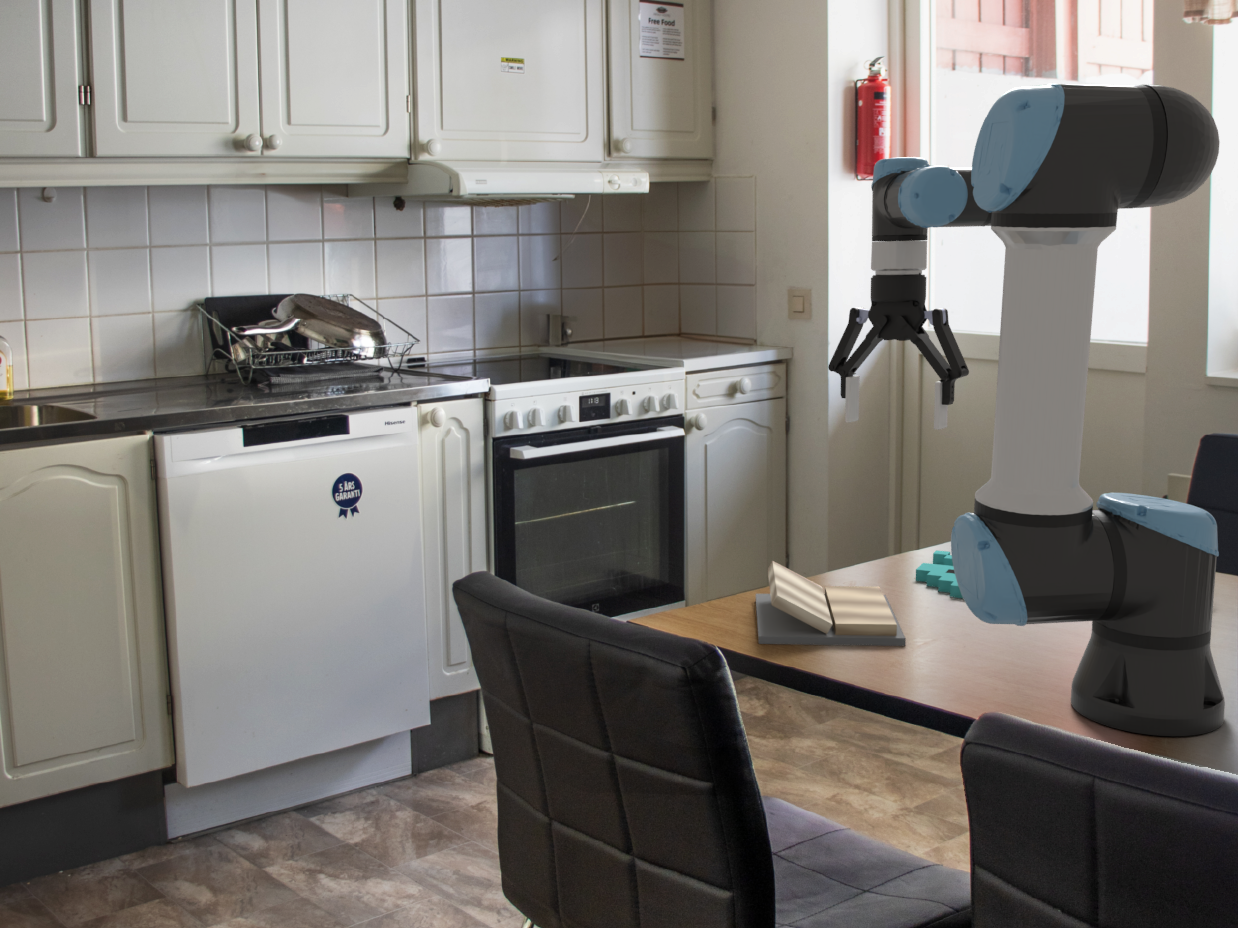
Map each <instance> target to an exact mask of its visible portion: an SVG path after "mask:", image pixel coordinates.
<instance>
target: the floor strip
mask: <svg viewBox="0 0 1238 928" xmlns="http://www.w3.org/2000/svg"><path fill="white" fill-rule="evenodd" d="M824 594H825V599H826V602H827V606H828V609H829V613H830V617H831V620H832V624H833V628H834V631H835V635H876V636H897V624H896V622H895V619H894V617H893V615H892V613H891V611H890V608H889V606H888V604H887V602H886V600H885V597H884V595H885V594H884V593H883V591H882V589H881V587H880V586H867V585H866V586H865V585H863V586H859V585H857V586H852V585H851V586H849V585H846V586H844V585H838V586H837V585H824Z"/></svg>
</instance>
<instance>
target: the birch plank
mask: <svg viewBox="0 0 1238 928" xmlns="http://www.w3.org/2000/svg"><path fill="white" fill-rule="evenodd" d="M767 576H768V578H767V579H768V587H769V594H770V595H771V604H772V606H774V607H776V608H778V609H780V610H782V611H784V612H786V613H787V614H789V615H791V616H793V617H795V618H797V619H799V620H801V621H803V622H805V623H807V624H809V625H810V626H812V627H814V628H816V629H818V630H820V631H822V632H824V633H826V634H827V633H828V631H829V630H830V628H831V626H832V625H833V624H832V620H831V617H830V613H829V609H828V606H827V602H826V599H825V595H824V594H825V591H824V588H823V586H822V585H820V584H818V583H817V582H815V581H812V580H811V579H808V578H806V577H805V576H803V575H801V574H799V573H797V572H796V571H793V570H791V569H790V568H787V567H786V566H784V565H782V564H780V563H778V562H775V561H774V560H771V562H770V564H769V566H768V568H767Z"/></svg>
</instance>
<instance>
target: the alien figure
mask: <svg viewBox="0 0 1238 928" xmlns="http://www.w3.org/2000/svg"><path fill="white" fill-rule="evenodd" d="M915 582H923V583H924V582H925V583H926V586H927V587H933V588H934V587H935V588H937V591H938V592H941V593H948V594H949V597H950V598H957V599H963V597H962V594H961V592H960V589H959V586H958V583H957V580H956V576H955V572H954V567H953V561H952V554H951V551H946V550H935V551H934V552H933V554H932V563H929V562H923V563H921V564H920V565H919V566H917V568H916V569H915Z"/></svg>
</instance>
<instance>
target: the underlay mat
mask: <svg viewBox="0 0 1238 928" xmlns="http://www.w3.org/2000/svg"><path fill="white" fill-rule="evenodd" d="M824 595H825V593H824ZM883 595H884V597H885V600H886V602H887V604H888V606H889V608H890V611H891V613H892V615H893V617H894V619H895V622H896V624H897V636H876V635H835V631H834V628H833V625H832V626H831V628H830V630H829V631H828V633H827V634H826V633H824V632H822V631H820V630H818V629H816V628H814V627H812V626H810V625H809V624H807V623H805V622H803V621H801V620H799V619H797V618H795V617H793V616H791V615H789V614H787V613H786V612H784V611H782V610H780V609H778V608H776V607H774V606H772V604H771V595H770V593H755V611H756V622H757V623H756V624H757V637H758V638H757V639H758V645H813V646H814V645H815V646H816V645H817V646H818V645H819V646H820V645H821V646H822V645H823V646H879V647H880V646H884V647H886V646H890V647H893V646H894V647H895V646H897V647H905V646H906V640H907V639H906V636H905V634H904V632H903V630H902V628H901V625H900V623H899V621H898V618H897V617H896V614H895V613H894V612H895V611H894V609H893V608H892V606H891V604H890V601H889V600H888V597H887V595H886V594H883Z"/></svg>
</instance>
